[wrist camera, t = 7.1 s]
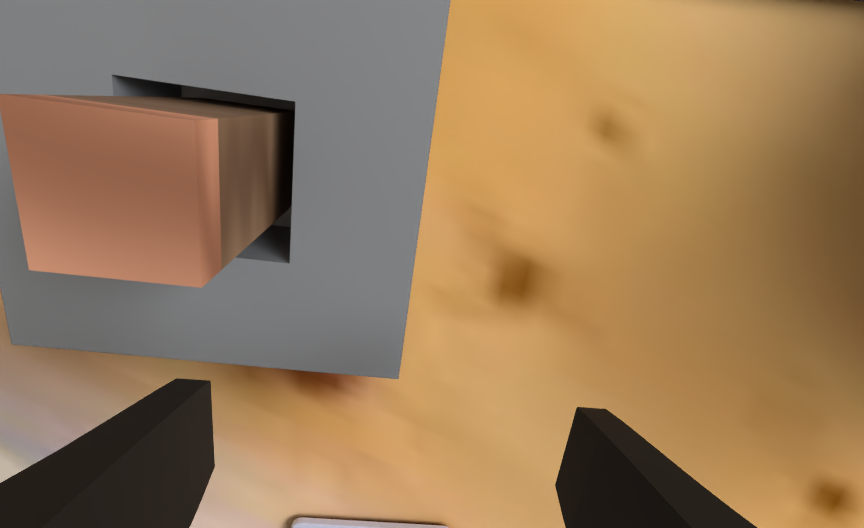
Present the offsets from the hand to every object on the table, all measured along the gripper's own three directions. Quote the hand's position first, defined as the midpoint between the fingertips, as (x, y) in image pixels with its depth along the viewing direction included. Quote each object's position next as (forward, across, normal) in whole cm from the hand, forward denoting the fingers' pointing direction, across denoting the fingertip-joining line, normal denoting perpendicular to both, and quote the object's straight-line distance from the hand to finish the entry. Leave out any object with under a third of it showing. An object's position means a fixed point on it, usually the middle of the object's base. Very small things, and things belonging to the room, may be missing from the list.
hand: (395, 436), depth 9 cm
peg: (+9, +6, -4) cm, 12 cm away
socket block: (+10, +6, -4) cm, 12 cm away
